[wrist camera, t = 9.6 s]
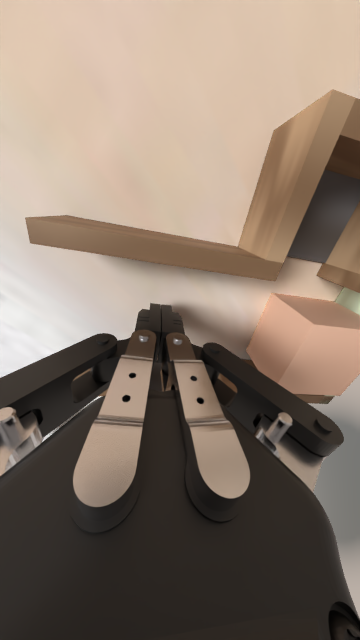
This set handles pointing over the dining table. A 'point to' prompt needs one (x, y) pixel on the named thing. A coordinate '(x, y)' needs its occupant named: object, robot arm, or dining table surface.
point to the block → (307, 345)
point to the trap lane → (261, 215)
